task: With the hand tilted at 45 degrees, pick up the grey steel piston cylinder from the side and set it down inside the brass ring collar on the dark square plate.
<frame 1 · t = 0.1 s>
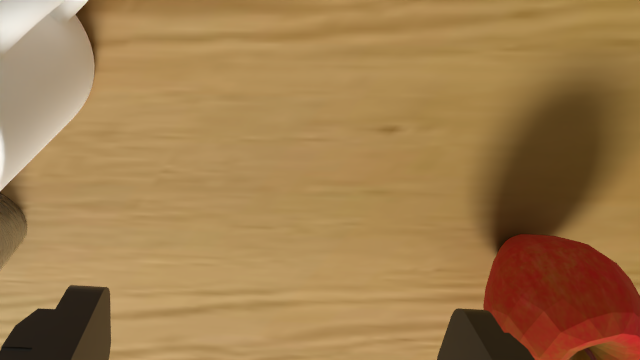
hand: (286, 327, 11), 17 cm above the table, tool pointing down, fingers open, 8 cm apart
mug: (40, 27, 24), on the table
apple: (510, 245, 33), on the table
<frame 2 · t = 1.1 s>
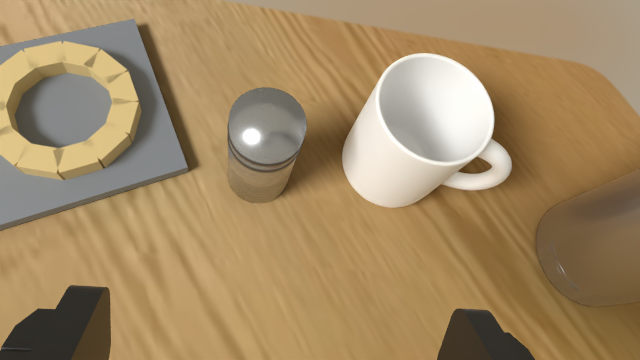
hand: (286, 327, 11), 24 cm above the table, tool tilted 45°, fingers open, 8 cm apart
ring block: (70, 119, 37), on the table
piston: (258, 174, 38), on the table
mug: (405, 173, 41), on the table
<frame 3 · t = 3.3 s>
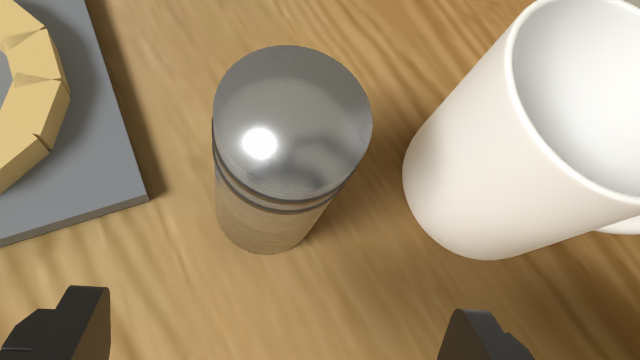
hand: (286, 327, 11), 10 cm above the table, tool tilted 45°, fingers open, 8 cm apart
piston: (266, 205, 23), on the table
mug: (498, 202, 26), on the table
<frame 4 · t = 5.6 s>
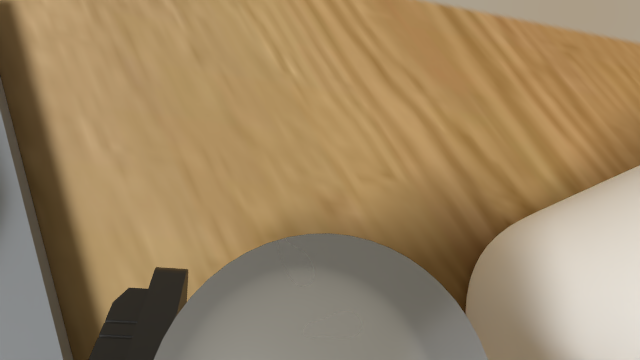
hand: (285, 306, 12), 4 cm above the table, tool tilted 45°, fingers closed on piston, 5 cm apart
mug: (600, 347, 18), on the table
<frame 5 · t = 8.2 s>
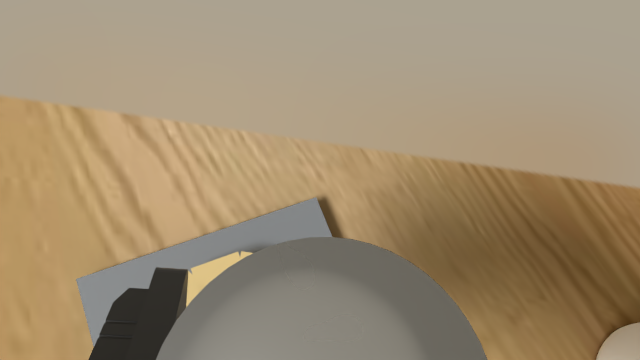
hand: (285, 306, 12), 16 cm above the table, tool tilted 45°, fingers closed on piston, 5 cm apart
ring block: (245, 355, 26), on the table
when the fingers open (6 cm above the table, at t = 11.1 s): piston stays where it is, resting on ring block.
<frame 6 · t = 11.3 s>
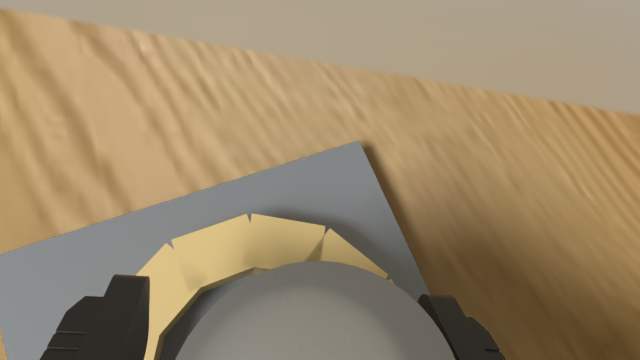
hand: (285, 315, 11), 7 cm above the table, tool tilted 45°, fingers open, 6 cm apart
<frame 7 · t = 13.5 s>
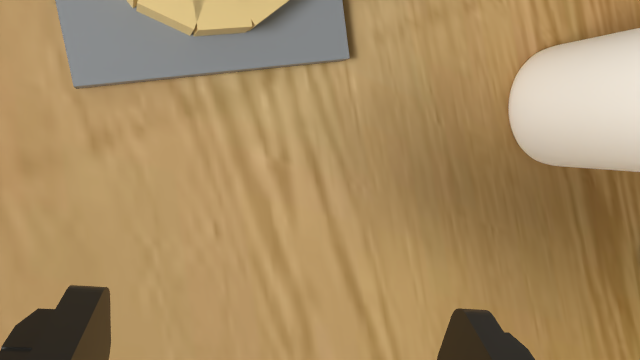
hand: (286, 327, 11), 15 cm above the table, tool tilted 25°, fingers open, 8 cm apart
mug: (560, 123, 34), on the table
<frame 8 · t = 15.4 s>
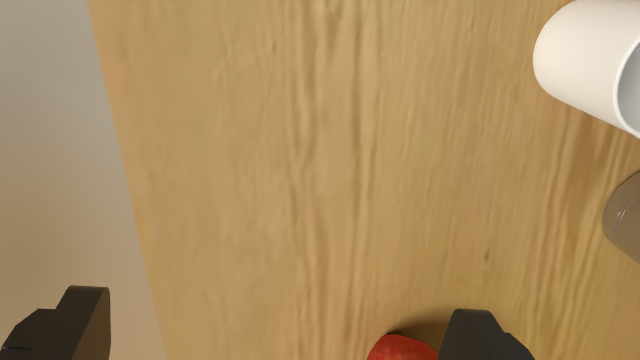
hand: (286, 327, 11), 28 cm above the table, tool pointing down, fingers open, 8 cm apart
mug: (583, 67, 39), on the table
apple: (390, 338, 50), on the table
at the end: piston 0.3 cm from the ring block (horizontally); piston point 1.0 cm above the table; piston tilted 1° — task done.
